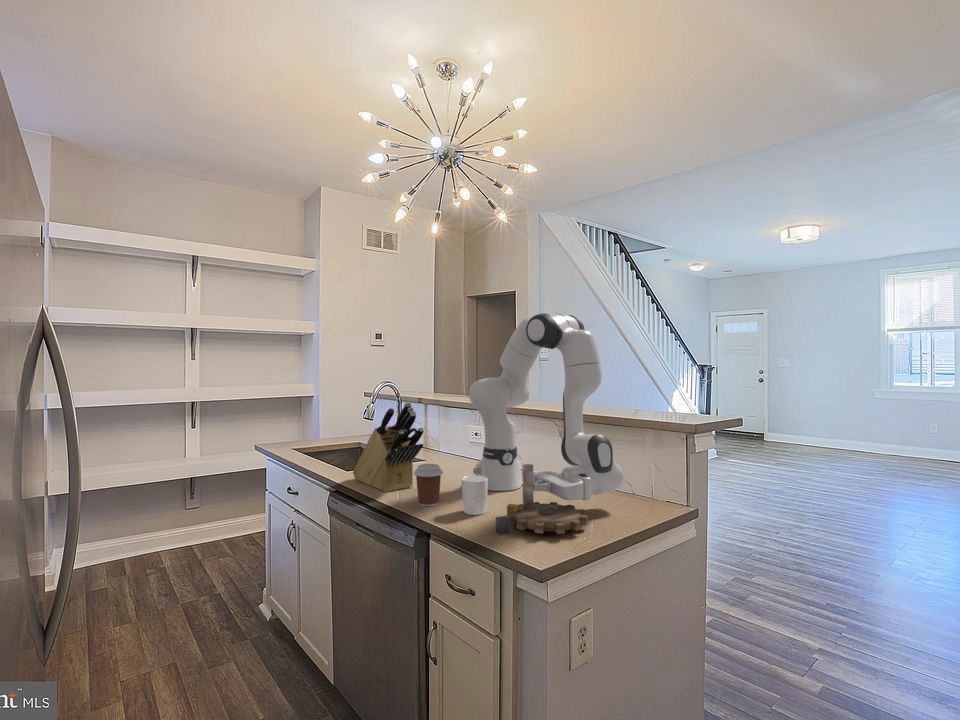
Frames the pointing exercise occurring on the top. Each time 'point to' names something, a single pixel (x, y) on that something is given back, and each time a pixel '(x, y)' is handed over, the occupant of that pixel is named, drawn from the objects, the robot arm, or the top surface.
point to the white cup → (474, 494)
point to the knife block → (390, 453)
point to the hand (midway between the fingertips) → (531, 487)
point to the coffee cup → (428, 484)
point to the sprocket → (543, 511)
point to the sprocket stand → (502, 525)
